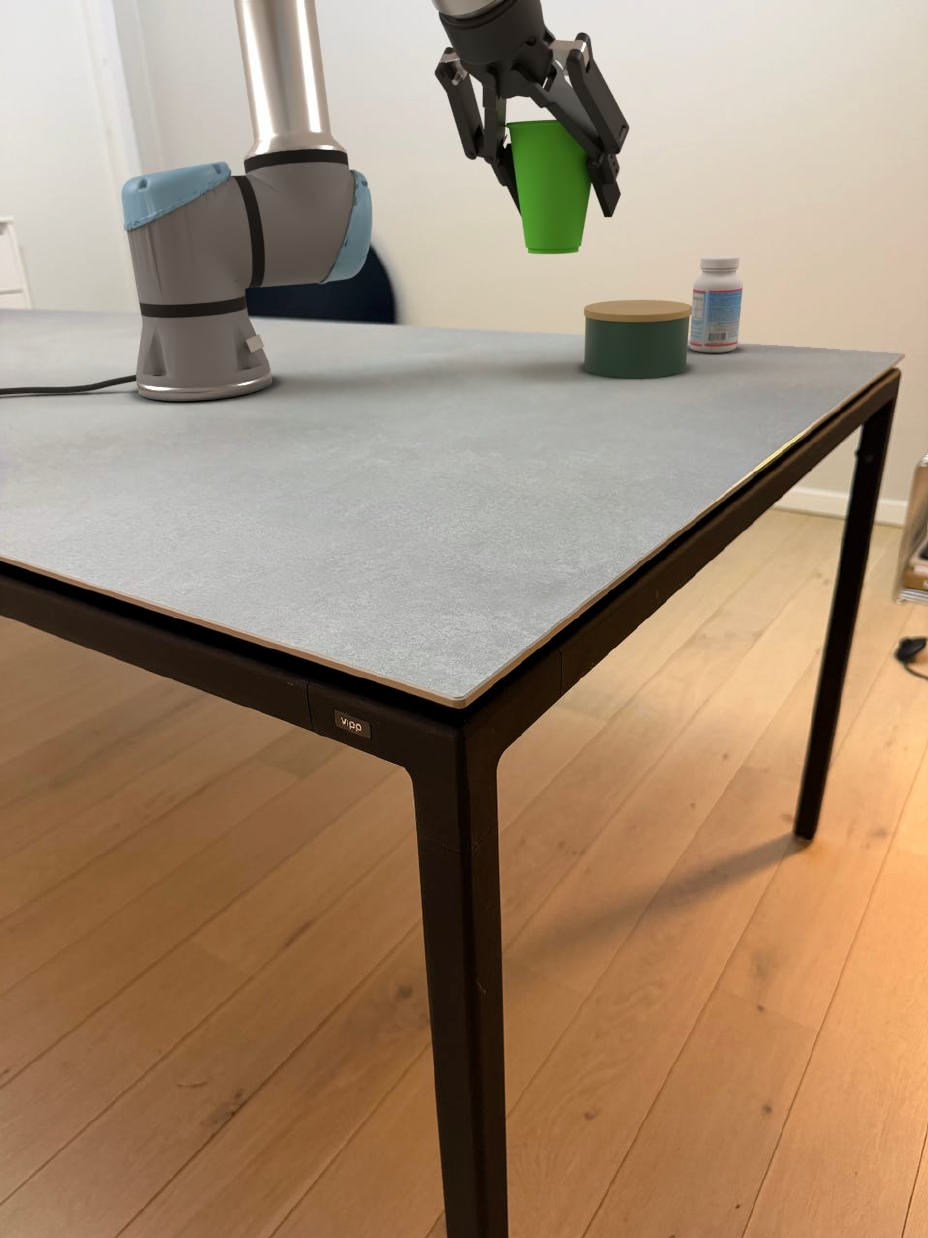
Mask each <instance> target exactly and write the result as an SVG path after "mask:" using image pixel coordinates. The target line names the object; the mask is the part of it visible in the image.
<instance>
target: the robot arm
mask: <svg viewBox="0 0 928 1238" xmlns="http://www.w3.org/2000/svg"><path fill="white" fill-rule="evenodd" d="M431 2H432V5H433V7H434V8H435V9H436V11H438V18H439V21H440V23H441V26H442V28H443V29H444V32H445V34H446V36H447V38H448V40H449V42H450V45H451V46H446V47H445V49H444V51H443V53H442V54H441V56H440V59H439V61H438V63H437V66H436V68H435V70H434V76H435V77H436V79H437V81H438V83H439V84H440V85H441V86H442V89H443V90H444V91H445V93H446V97H447V99H448V103H449V106H450V109H451V110H450V111H451V112H452V117H453V119H454V123H455V126H456V129H457V132H458V136H459V139H460V143H461V146H462V151H463V153H464V155H465V157H466V158H467V159H468V160H471V161H475V160H476V159H477V158H481V159H483V161H484V162H485V163H486V164H488V165H490V167H491V169H492V171H493V173H494V175H495V177H496V179H497V182H498V183H499V185H501V187H506V188H507V190H508V192H509V195H510V196H511V199H512V201H513V203H514V205H515V207H516V209H517V211H518V213H519V216H520V217H521V210H520V203H519V196H518V189H517V182H516V175H515V168H514V161H513V153H512V146H511V142H508V143H506V140H507V137H508V134H506V128H507V127H505V126H506V123H507V104H508V103H507V102H508V100H510V99H513V98H517V97H521V98H530V99H531V101H533V102H534V104H535V105H536V106H537V107H538V108H539V109H544V108H545V109H546V110H547V111H548V112H549V114H551V115H552V117H554V119H555V120H557V121H558V122H559V123H560V124H561V125H562V126H563V127H564V128H565V129H566V131H567V132H568V133H569V134H570V135H571V136H572V137H573V138H574V139H575V141H576V142H577V143H578V144H579V145H580V146H581V147H582V148H583V149H584V150H585V152H586V153H587V154H588V157H587V159H586V162H585V166H586V169H587V171H588V174H589V177H590V180H591V182H592V184H591V186H592V188H593V191H594V192H595V196H596V198H597V201H598V204H599V206H600V209H601V211H602V215H603V217H604V218H613V216H614V214H615V211H616V208H617V205H618V203H619V201H620V198H621V195H622V193H621V190H620V187H619V184H618V181H617V178H618V176H619V174H620V169H621V167H620V163H619V161H618V159H617V158H618V157H617V155H619V154H620V153H621V152H622V149H623V147H624V144H625V142H626V139H627V136H628V134H629V131H630V126H629V123H628V121H627V119H626V117H625V115H624V114H623V112H622V110H621V108H620V106H619V104H618V102H617V100H616V98H615V96H614V94H613V93H612V91H611V89H610V87H609V85H608V83H607V81H606V79H605V78H604V76H603V74H602V72H601V70H600V68H599V66H598V64H597V62H596V60H595V59H594V53H593V47H592V40H591V37H590V35H589V34H588V33H586V32H584V31H583V32H582V31H581V32H579V33H577V34H576V36H575V38H574V40H562V39H556V36H555V34H553V32H551V31H550V29H549V28H548V27H547V25H546V24H545V19H544V13H543V5H542V2H541V0H431ZM233 5H234V13H235V20H236V26H237V33H238V40H239V47H240V55H241V60H242V67H243V74H244V81H245V87H246V95H247V100H248V108H249V114H250V115H249V116H250V121H251V129H252V135H253V143H252V145H251V146H250V148H249V149H248V150H247V152H246V153H245V155H244V157H243V167H244V173H245V174H243V175H232V169H231V168H230V167H229V164H228V163H227V162H226V161H215V162H210V163H204V164H197V165H192V166H186V167H179V168H175V169H169V170H163V171H158V172H157V171H156V172H152V173H146V174H143V175H142V174H141V175H138V176H137V175H136V176H133V177H131V178H129V179H128V180H127V181H125V182H124V184H123V185H122V188H121V191H120V192H121V205H122V213H123V214H122V215H123V219H124V220H123V222H124V223H123V229H124V231H125V232H126V235H127V240H128V245H129V251H130V257H131V263H132V269H133V275H134V281H135V287H136V293H137V297H138V302H139V310H140V315H141V321H142V323H141V324H142V325H141V333H140V339H139V340H140V341H139V349H138V355H137V361H136V371H135V374H132V375H131V374H130V375H127V376H122V377H117V378H112V379H106V380H102V381H99V382H95V383H91V384H89V383H88V384H83V385H82V384H81V385H71V386H20V387H4V388H3V387H1V388H0V396H5V395H6V396H7V395H25V394H26V395H28V394H29V395H30V394H74V393H85V392H93V391H97V390H101V389H105V388H109V387H113V386H119V385H123V384H124V385H125V384H129V383H133V382H135V383H136V387H137V392H138V395H140V396H142V397H143V398H147V399H151V400H157V401H169V402H194V401H195V402H196V401H206V400H207V401H208V400H218V399H219V400H220V399H226V398H231V397H238V396H242V395H247V394H251V393H255V392H258V391H260V390H263V389H266V388H267V387H269V386H270V385H271V384H272V383H273V376H272V375H273V374H272V369H271V365H270V361H269V360H268V357H267V355H266V352H265V350H264V348H265V344H264V342H263V340H262V337H261V335H260V334H257V333H256V331H255V328H254V326H253V323H252V321H251V319H250V316H249V311H248V307H247V306H248V305H247V297H246V289H254V288H267V287H281V286H282V287H283V286H294V285H295V286H296V285H306V284H307V285H308V284H319V285H324V284H327V283H328V282H335V281H343V280H344V281H345V280H348V279H349V280H350V279H351V278H353V277H355V276H356V275H358V274H359V272H360V271H361V269H362V268H363V266H364V264H365V262H366V260H367V257H368V253H369V250H370V245H371V239H372V230H373V202H372V194H371V190H370V188H369V183H368V180H367V178H366V176H365V175H364V174H363V173H362V172H360V171H358V170H356V169H354V168H353V169H350V163H349V156H348V151H347V150H346V149H345V147H343V146H342V145H341V144H340V143H339V142H338V141H337V140H336V139H335V138H334V136H333V135H332V130H331V129H332V128H331V121H330V113H329V104H328V98H327V96H328V95H327V90H326V88H327V87H326V80H325V72H324V65H323V57H322V49H321V39H320V35H319V34H320V32H319V24H318V15H317V9H316V8H317V7H316V0H233ZM559 64H560V65H559ZM565 76H566V77H568V79H569V82H568V81H567V79H566V77H565ZM471 77H473V78H474V79H475V80H476V81H478V82H479V83H480V84H481V86H482V101H481V102H482V103H481V104H482V105H481V106H482V108H484V113H483V115H484V116H483V117H484V118H483V120H482V117H481V112H480V109H479V108H480V107H479V105H478V102H477V101H478V100H477V97H476V94H475V90H474V86H473V82H472V78H471ZM483 121H484V122H483ZM505 143H506V145H504V144H505Z"/></svg>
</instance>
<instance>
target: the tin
mask: <svg viewBox="0 0 928 1238" xmlns="http://www.w3.org/2000/svg"><path fill="white" fill-rule="evenodd" d="M691 315H692V304H688V303H685V302H680V301H674V300H662V299H661V300H660V299H623V300H622V299H621V300H609V301H600V302H594V303H591V304H587V305H585V306H584V307H583V316H584V317H585V321H584V323H585V324H584V329H585V330H584V355H583V356H584V358H583V359H584V360H583V368H584V370H585V371H586V372H587V373H590V374H593V375H596V376H601V377H608V378H615V379H617V378H618V379H653V378H655V379H656V378H662V377H670V376H674V375H678V374H681V373H683V372H685V371H686V369H687V368H686V367H687V359H688V358H687V357H688V344H689V332H690V331H689V330H690V329H689V328H690V318H691V317H690V316H691Z"/></svg>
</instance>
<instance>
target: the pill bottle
mask: <svg viewBox="0 0 928 1238" xmlns="http://www.w3.org/2000/svg"><path fill="white" fill-rule="evenodd" d="M699 267H700V271H701V275H699V276H698V277H696V279H695V280H694V282H693V286H692V287H693V289H692V302H691V306H692V314H691V315H690V316H691V317H690V318H691V319H690V331H689V332H690V336H689V348H690V350H692V351H694V352H698V353H708V354H709V353H710V354H711V353H712V354H714V353H716V354H719V353H728V352H731V351H734V350H736V348H738V343H739V335H740V334H739V333H740V321H741V320H740V319H741V309H742V298H743V288H744V287H743V286H744V282H743V280H742V278H741V277H740V276H739V275H737V270H739V267H740V256H738V255H730V254H719V255H717V254H715V255H706V256H705V255H704V256H701V257H700V265H699Z"/></svg>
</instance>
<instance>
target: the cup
mask: <svg viewBox="0 0 928 1238" xmlns="http://www.w3.org/2000/svg"><path fill="white" fill-rule="evenodd" d="M505 127H506V128H507V129H508V131H509V132H508V133H509V138H510V143H511V146H512V153H513V161H514V168H515V175H516V182H517V189H518V196H519V203H520V210H521V216H520V218H521V224H522V231H523V238H524V246H525V248H527V253H528V254H532V255H565V254H575V253H578V252H579V248H580V247H582V242H583V236H584V231H585V226H586V225H585V224H586V219H587V213H588V207H589V201H590V195H591V190H592V189H591V188H592V182H591V180H590V177H589V174H588V171H587V169H586V166H585V162H586V159H587V157H588V154H587V153H586V152H585V150H584V149H583V148H582V147H581V146H580V145H579V144H578V143H577V142H576V141H575V139H574V138H573V137H572V136H571V135H570V134H569V133H568V132H567V131H566V129H565V128H564V127H563V126H562V125H561V124H560V123H559V122H558V121H557V120H556V119H537V120H522V121H521V120H520V121H510V122H506V126H505Z"/></svg>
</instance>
